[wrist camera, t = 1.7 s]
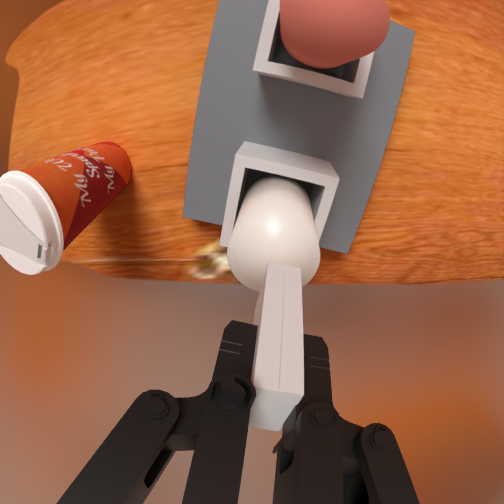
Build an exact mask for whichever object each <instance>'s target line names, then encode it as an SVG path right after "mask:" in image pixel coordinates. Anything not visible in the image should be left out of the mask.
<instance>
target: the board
mask: <svg viewBox="0 0 504 504" xmlns="http://www.w3.org/2000/svg"><path fill="white" fill-rule="evenodd" d="M414 35H415V31H413V30H411V29H409V28H407V27H405V26H402V25H400V24H398V23H395V22H393V21H391V20H390V25H389V31H388V34H387V36H386V38H385V40H384V42H383V43H382V44H381V45H380V46H379V47H378V49H376V50H375V51H374V52H372V53H370V54H368V55H366V56H364V57H361V58H358V59H356V60H353V61H350V62H348V63H345V64H342V65H340V66H337V67H335V68H331V69H314V68H310V67H306V66H304V65H302V64H300V63H299V62H297V61H296V60H294V59H293V58H292V57H291V56H290V55H289V54H288V53H287V51H286V50H285V48H284V46H283V43H282V40H281V31H280V0H219V4H218V8H217V12H216V16H215V20H214V25H213V29H212V33H211V38H210V43H209V47H208V52H207V57H206V62H205V67H204V72H203V77H202V83H201V88H200V94H199V99H198V105H197V111H196V117H195V124H194V130H193V137H192V144H191V151H190V158H189V166H188V174H187V182H186V190H185V199H184V209H183V217H185V218H189V219H194V220H199V221H204V222H208V223H213V224H218V225H222V232H221V238H220V244H219V245H220V246H225V247H228V245H229V241H230V238H231V235H232V232H233V229H234V226H235V223H236V220H237V218H238V215H239V212H240V209H241V206H242V203H243V200H244V197H245V195H246V192H247V191H248V189H249V188H250V187H251V186H252V185H253V184H254V183H255V182H256V181H258V180H260V179H262V178H264V177H268V176H275V175H277V176H285V177H288V178H291V179H293V180H295V181H296V182H298V183H299V184H300V185H301V186H302V187H303V188H304V189H305V191H306V192H307V194H308V196H309V199H310V204H311V208H312V213H313V218H314V223H315V228H316V233H317V238H318V243H319V247H320V248H324V249H329V250H333V251H337V252H341V253H346V254H348V251H349V249H350V247H351V244H352V241H353V239H354V236H355V234H356V231H357V229H358V226H359V223H360V221H361V218H362V215H363V213H364V210H365V207H366V205H367V202H368V199H369V196H370V193H371V191H372V188H373V185H374V182H375V179H376V176H377V173H378V170H379V167H380V164H381V161H382V158H383V155H384V152H385V148H386V145H387V142H388V139H389V135H390V132H391V129H392V125H393V122H394V118H395V115H396V111H397V107H398V104H399V100H400V96H401V92H402V88H403V84H404V80H405V76H406V72H407V68H408V63H409V59H410V54H411V50H412V45H413V40H414Z"/></svg>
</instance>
